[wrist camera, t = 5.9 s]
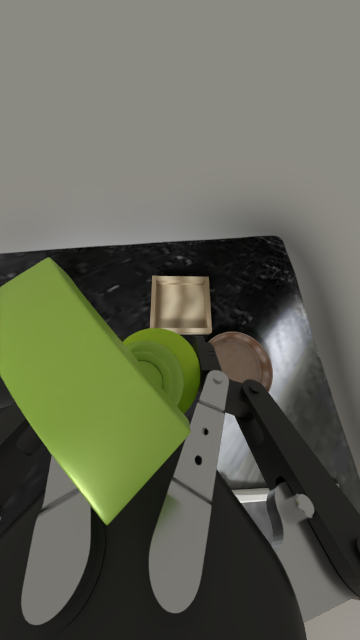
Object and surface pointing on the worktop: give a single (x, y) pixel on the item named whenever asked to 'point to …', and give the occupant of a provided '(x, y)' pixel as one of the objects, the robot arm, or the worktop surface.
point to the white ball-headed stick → (252, 494)
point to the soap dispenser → (94, 386)
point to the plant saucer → (243, 358)
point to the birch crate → (181, 304)
